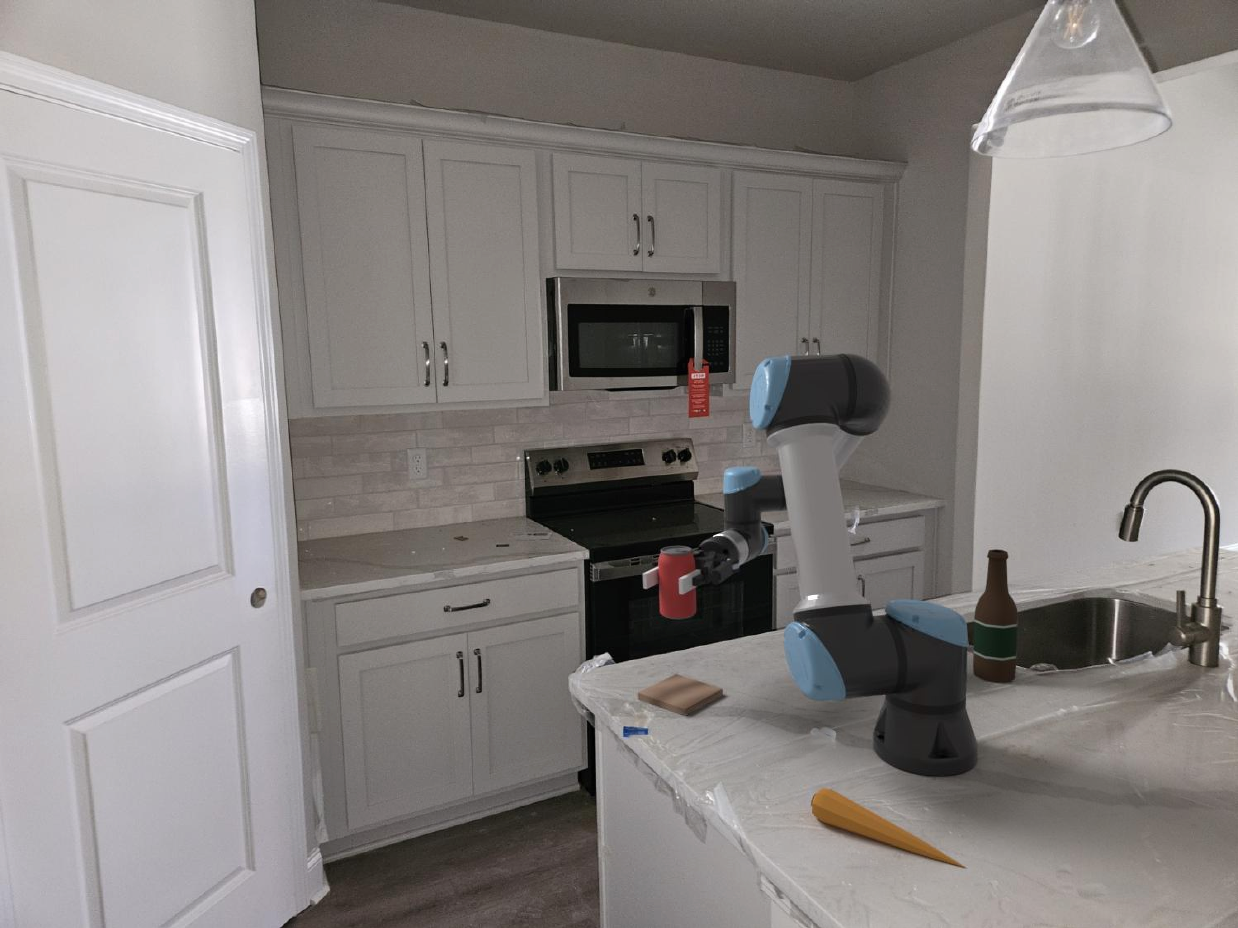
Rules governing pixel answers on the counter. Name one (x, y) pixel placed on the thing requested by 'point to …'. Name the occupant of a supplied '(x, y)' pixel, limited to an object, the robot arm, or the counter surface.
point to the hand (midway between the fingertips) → (662, 583)
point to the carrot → (869, 824)
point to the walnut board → (680, 694)
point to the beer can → (675, 582)
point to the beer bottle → (995, 625)
